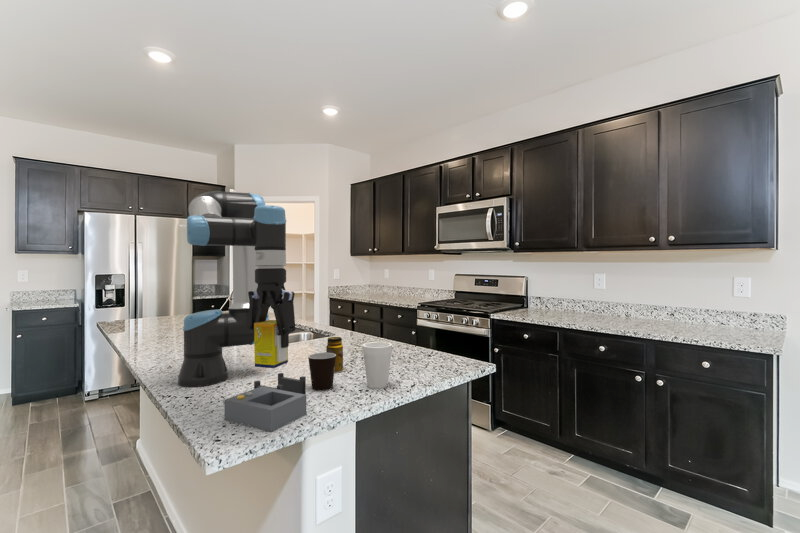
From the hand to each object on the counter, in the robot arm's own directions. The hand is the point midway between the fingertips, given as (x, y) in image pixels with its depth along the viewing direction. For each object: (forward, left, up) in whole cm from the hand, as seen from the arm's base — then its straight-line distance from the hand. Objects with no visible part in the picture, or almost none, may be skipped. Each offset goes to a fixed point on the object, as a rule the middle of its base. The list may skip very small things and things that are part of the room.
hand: (271, 359), depth 98 cm
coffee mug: (-5, +27, -15) cm, 31 cm away
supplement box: (0, 0, -2) cm, 2 cm away
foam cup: (+10, +35, -15) cm, 39 cm away
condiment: (-14, +43, -15) cm, 48 cm away
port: (-2, 0, -15) cm, 15 cm away
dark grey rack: (-10, +13, -15) cm, 22 cm away
